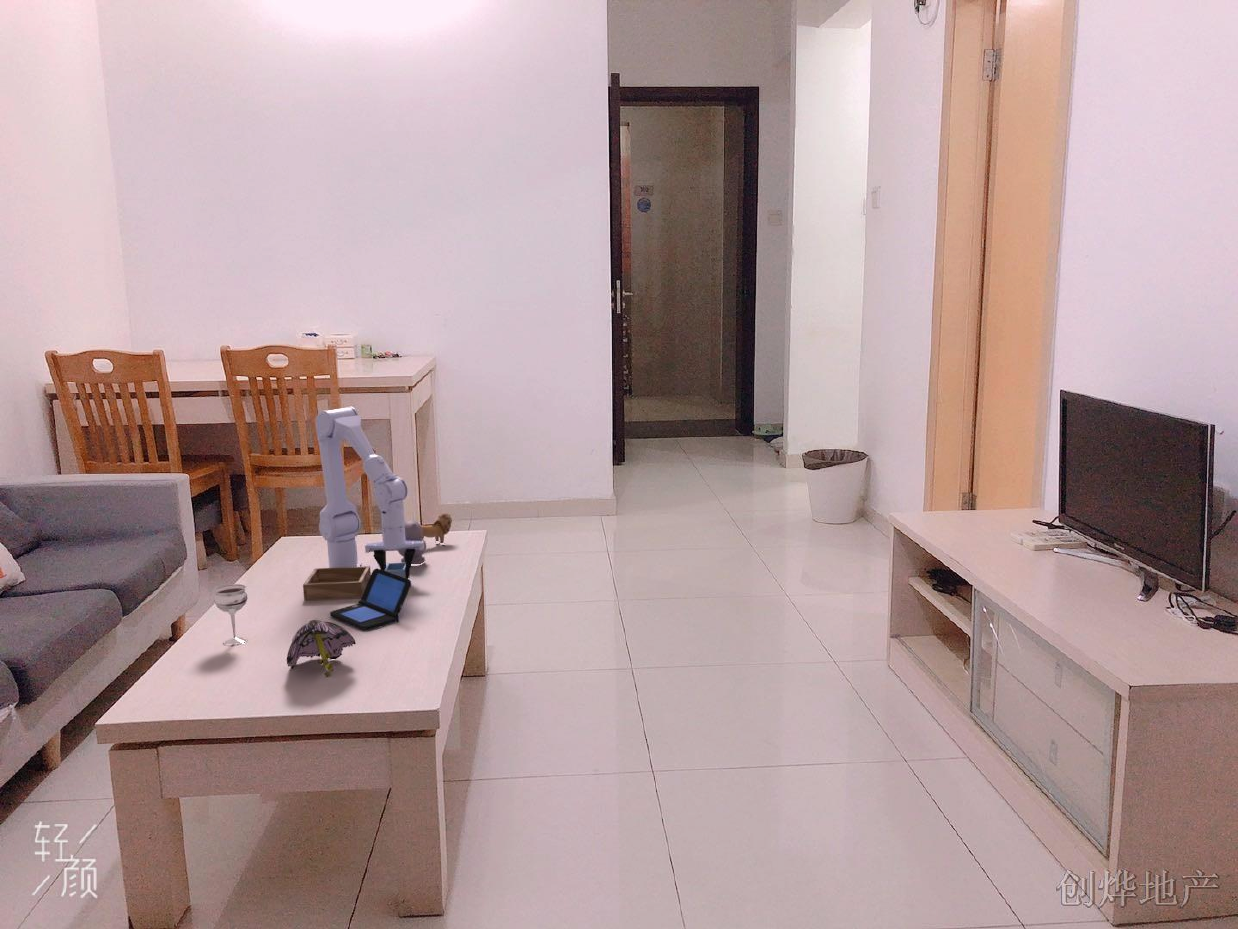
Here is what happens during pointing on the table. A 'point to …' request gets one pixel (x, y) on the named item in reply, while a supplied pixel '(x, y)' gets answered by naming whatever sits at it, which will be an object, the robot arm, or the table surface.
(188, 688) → the table surface
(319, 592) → the tray
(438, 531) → the lion figurine
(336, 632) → the dark domed piece
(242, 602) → the wineglass
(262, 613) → the table surface
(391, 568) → the blue crate
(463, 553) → the table surface
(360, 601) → the handheld game console
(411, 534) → the grey rounded bulbous piece
